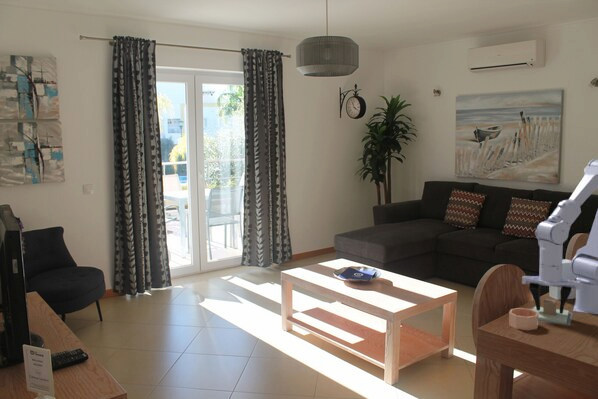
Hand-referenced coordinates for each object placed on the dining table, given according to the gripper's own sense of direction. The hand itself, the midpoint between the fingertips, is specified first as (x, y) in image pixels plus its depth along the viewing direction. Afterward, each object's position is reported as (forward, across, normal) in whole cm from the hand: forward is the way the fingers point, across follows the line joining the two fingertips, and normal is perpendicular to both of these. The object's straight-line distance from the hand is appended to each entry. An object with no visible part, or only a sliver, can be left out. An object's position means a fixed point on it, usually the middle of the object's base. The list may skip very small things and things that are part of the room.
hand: (549, 310), depth 148 cm
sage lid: (+2, 0, 0) cm, 2 cm away
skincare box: (+2, +2, +19) cm, 19 cm away
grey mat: (+2, 0, 0) cm, 2 cm away
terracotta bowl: (+2, -6, -10) cm, 12 cm away
